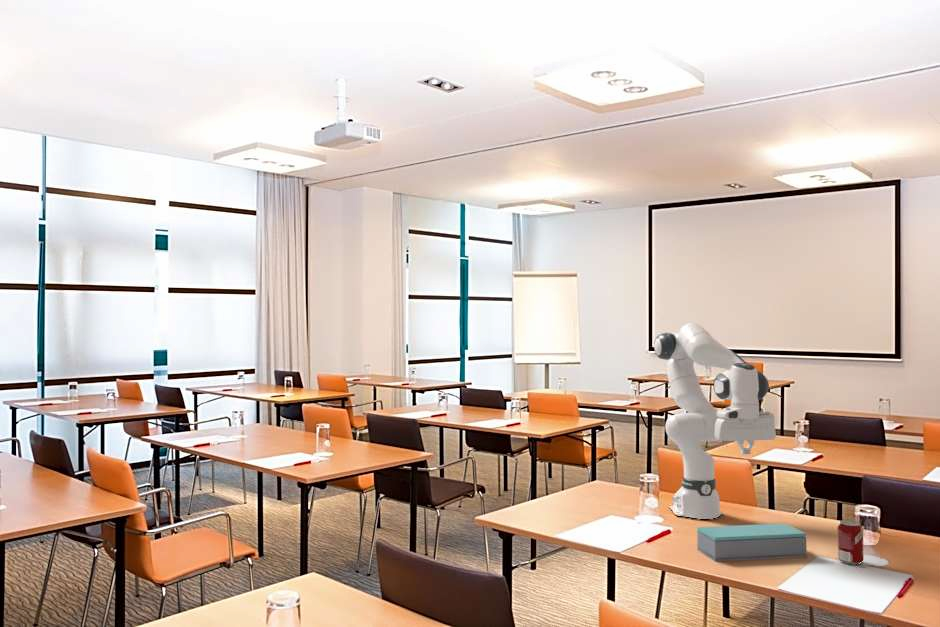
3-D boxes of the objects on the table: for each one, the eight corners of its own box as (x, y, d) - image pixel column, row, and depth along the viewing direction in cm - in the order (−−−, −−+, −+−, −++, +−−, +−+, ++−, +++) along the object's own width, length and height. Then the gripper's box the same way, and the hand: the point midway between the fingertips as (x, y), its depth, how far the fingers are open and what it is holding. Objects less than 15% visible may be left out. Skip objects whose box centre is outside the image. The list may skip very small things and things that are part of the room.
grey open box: (697, 549, 235) (697, 531, 235) (784, 545, 239) (784, 527, 239) (715, 561, 223) (714, 541, 223) (806, 556, 227) (806, 537, 228)
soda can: (850, 566, 218) (849, 526, 218) (833, 560, 224) (832, 520, 224) (868, 564, 219) (868, 524, 220) (851, 558, 226) (850, 518, 226)
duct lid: (697, 530, 235) (697, 527, 235) (784, 526, 239) (784, 523, 239) (714, 540, 223) (714, 537, 223) (806, 536, 228) (806, 533, 228)
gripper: (768, 410, 249) (769, 451, 249) (712, 411, 247) (712, 453, 246) (779, 412, 243) (779, 454, 243) (720, 413, 240) (721, 456, 240)
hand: (745, 453), depth 245 cm, fingers closed
